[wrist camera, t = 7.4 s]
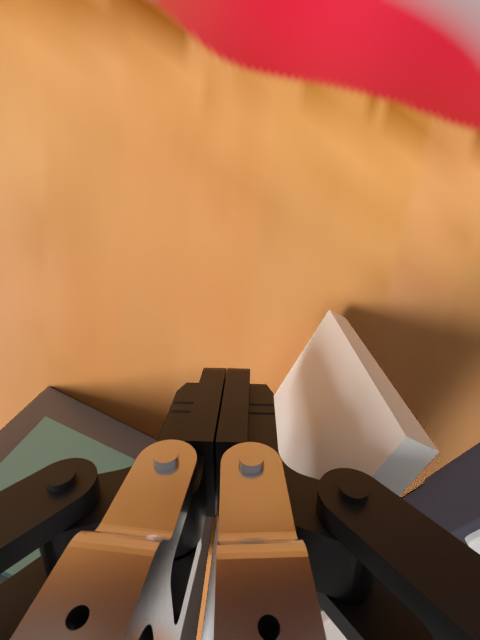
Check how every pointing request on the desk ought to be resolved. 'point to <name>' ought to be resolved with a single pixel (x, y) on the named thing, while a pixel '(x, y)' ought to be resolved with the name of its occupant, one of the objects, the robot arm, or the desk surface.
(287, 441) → the side door
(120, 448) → the camera body
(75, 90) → the desk surface
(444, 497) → the calculator
